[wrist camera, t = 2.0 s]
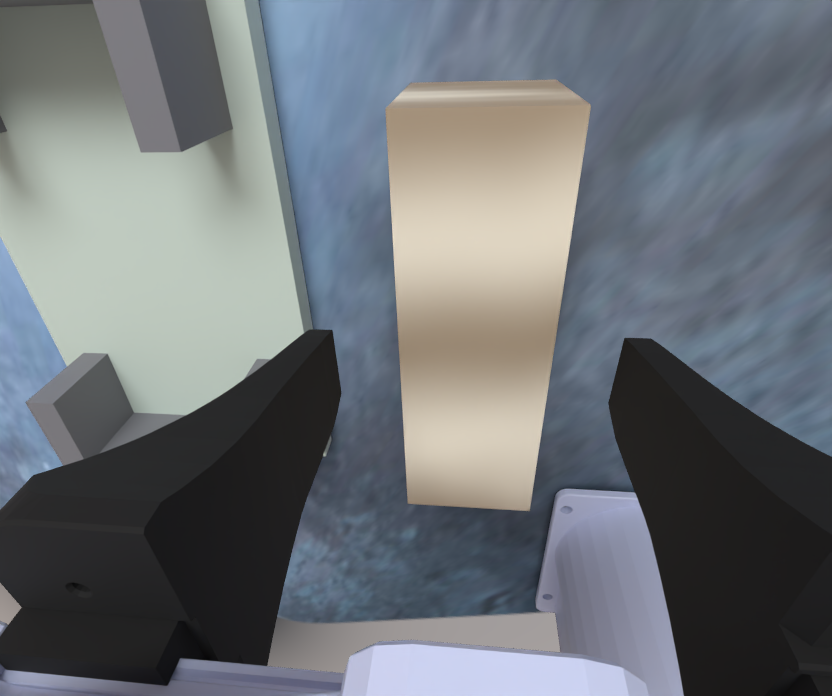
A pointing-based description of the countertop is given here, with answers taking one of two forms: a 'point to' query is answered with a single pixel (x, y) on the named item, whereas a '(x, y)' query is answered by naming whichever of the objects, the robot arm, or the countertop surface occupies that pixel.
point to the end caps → (145, 207)
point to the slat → (480, 277)
